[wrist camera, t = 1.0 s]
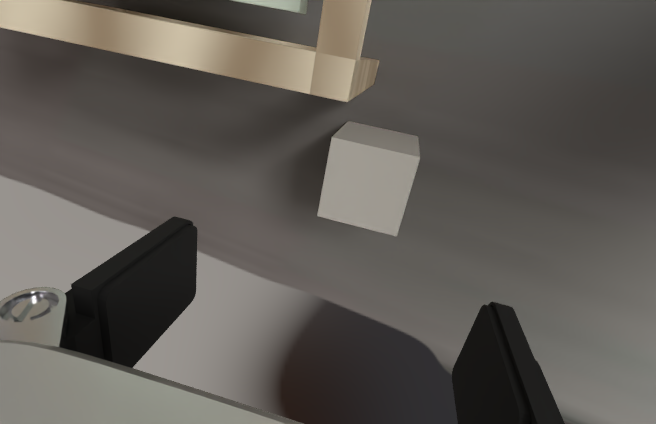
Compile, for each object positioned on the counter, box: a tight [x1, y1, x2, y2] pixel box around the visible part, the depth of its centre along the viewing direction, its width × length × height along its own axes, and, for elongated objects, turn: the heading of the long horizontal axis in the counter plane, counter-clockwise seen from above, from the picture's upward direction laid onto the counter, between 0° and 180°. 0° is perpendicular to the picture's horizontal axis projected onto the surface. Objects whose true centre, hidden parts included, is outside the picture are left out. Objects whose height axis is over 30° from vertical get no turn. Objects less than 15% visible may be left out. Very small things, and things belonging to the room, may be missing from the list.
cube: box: [317, 121, 420, 237], centre depth 23 cm, size 5×5×6 cm
